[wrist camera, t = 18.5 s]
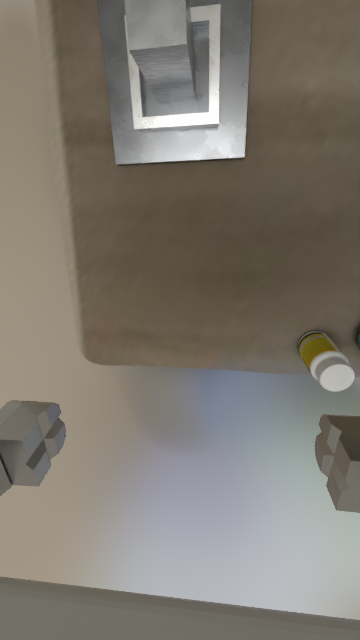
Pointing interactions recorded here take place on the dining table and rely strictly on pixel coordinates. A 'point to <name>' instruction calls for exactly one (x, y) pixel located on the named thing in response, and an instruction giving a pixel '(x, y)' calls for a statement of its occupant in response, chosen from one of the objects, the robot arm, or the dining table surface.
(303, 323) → the dining table surface
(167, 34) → the steel bar
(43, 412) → the robot arm
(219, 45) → the block
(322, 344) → the supplement bottle
